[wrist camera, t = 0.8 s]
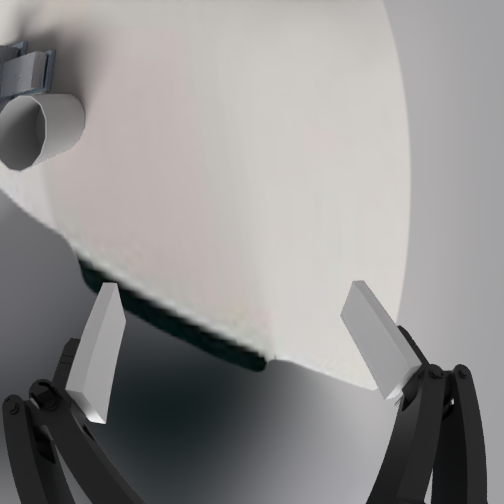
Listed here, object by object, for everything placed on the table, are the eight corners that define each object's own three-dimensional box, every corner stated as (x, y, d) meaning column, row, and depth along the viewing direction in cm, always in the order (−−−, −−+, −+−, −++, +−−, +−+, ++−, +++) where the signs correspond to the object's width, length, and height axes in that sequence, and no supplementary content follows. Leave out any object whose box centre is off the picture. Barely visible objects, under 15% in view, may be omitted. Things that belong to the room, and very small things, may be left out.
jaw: (5, 53, 16) (-26, 51, 10) (50, 37, 18) (20, 28, 12) (-1, 116, 21) (-34, 124, 15) (41, 105, 23) (8, 110, 17)
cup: (33, 148, 27) (-9, 166, 18) (43, 92, 23) (0, 95, 15) (79, 156, 29) (41, 176, 21) (92, 96, 26) (54, 97, 17)
